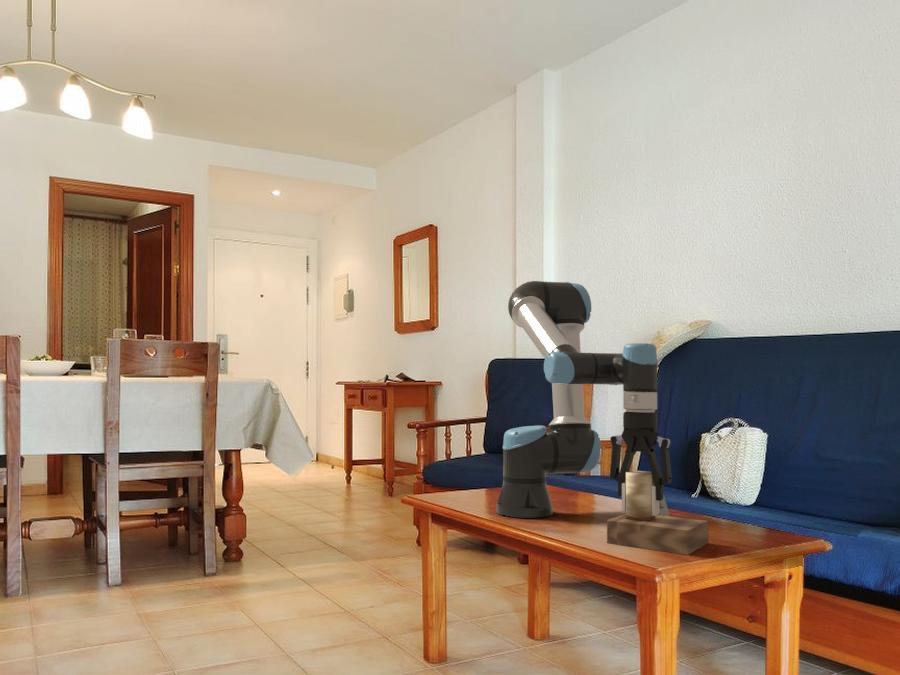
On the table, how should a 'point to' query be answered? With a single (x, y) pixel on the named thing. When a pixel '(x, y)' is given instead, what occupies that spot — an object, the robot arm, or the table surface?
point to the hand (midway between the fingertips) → (640, 512)
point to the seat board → (659, 533)
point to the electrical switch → (663, 507)
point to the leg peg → (639, 495)
